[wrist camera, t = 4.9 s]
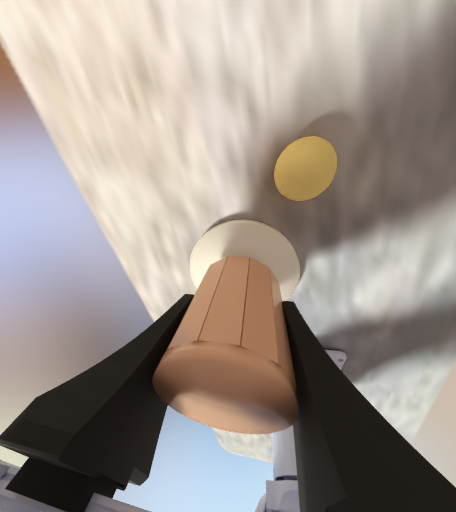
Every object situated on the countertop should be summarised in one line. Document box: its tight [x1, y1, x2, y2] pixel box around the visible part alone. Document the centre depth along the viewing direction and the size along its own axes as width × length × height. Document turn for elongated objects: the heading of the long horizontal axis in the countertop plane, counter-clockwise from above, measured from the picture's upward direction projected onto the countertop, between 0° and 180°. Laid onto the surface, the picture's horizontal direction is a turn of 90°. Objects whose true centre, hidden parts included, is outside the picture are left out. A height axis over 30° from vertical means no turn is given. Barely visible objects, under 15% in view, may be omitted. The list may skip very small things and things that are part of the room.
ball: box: [274, 136, 338, 201], centre depth 9 cm, size 3×3×3 cm
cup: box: [152, 256, 299, 434], centre depth 9 cm, size 6×6×7 cm
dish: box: [190, 219, 300, 301], centre depth 14 cm, size 9×9×1 cm
